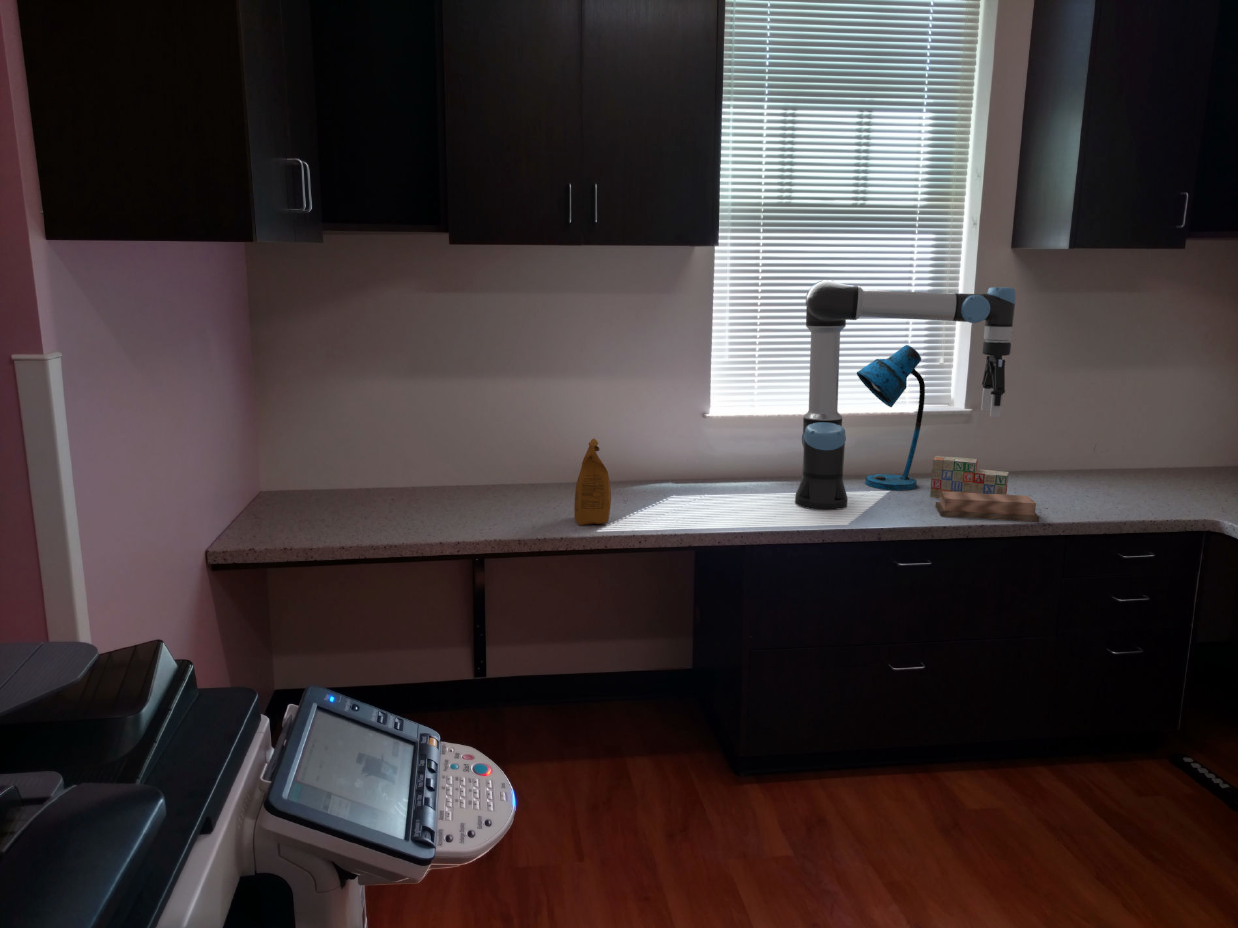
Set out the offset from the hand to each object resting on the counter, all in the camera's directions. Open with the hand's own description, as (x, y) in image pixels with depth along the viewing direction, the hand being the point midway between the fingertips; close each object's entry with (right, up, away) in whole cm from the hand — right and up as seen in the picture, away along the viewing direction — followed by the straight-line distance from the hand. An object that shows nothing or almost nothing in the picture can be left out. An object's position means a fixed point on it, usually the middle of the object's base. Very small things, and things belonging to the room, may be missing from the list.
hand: (990, 413), depth 275 cm
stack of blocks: (-4, -26, +8) cm, 28 cm away
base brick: (-5, -29, -9) cm, 31 cm away
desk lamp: (-24, -22, +27) cm, 42 cm away
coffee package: (-117, -31, -21) cm, 123 cm away
